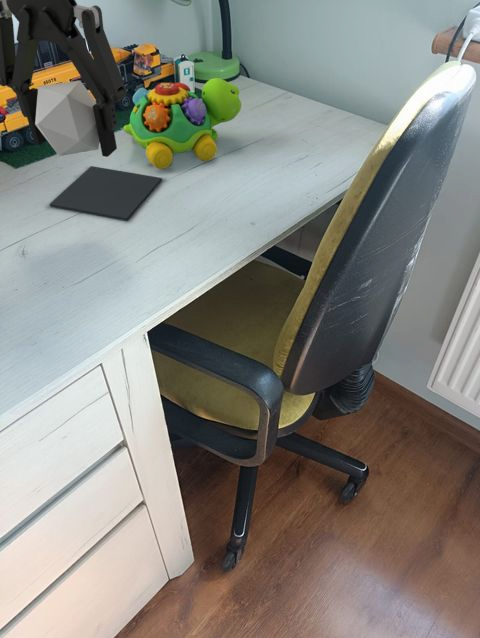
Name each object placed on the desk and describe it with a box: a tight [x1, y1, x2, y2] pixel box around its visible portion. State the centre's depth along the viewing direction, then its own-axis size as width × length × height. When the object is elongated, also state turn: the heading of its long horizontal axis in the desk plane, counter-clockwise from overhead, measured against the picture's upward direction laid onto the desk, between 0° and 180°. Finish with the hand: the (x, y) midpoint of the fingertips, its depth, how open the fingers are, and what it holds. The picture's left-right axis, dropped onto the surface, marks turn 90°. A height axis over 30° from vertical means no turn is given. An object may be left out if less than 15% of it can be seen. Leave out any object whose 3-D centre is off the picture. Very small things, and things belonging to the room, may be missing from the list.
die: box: [35, 80, 100, 157], centre depth 68 cm, size 8×9×10 cm
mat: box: [49, 165, 163, 222], centre depth 88 cm, size 14×14×1 cm
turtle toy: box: [123, 77, 242, 170], centre depth 97 cm, size 17×23×12 cm
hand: (75, 146), depth 71 cm, fingers closed on die, 10 cm apart
